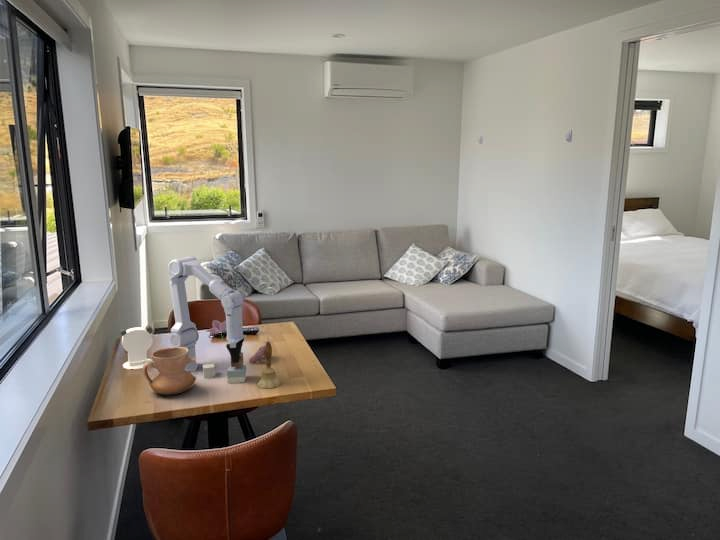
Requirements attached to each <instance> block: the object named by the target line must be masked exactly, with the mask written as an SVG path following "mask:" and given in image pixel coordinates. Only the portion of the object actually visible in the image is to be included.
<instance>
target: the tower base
mask: <svg viewBox="0 0 720 540" xmlns="http://www.w3.org/2000/svg"><path fill="white" fill-rule="evenodd" d="M226 377H227V378H226V379H227V384H240V382H244V381H245V382H246V378H247V372H246V373H245V377H232V378H228V376H226ZM245 382H244V383H245Z"/></svg>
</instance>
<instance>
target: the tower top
mask: <svg viewBox="0 0 720 540" xmlns="http://www.w3.org/2000/svg"><path fill="white" fill-rule="evenodd" d="M226 372H227V373H226V374H227V376H226V377H228V378H232V377H245V373H246V374H247V365H246V364H243V366H242V367H231V364H230V365H229V366H228V368H227V371H226Z"/></svg>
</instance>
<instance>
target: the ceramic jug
mask: <svg viewBox="0 0 720 540" xmlns="http://www.w3.org/2000/svg"><path fill="white" fill-rule="evenodd" d="M188 354H189V351H188V349H187V348H184V347H173V346H171V347H166V348H162V349H158V350H155V351H153V352H152V353H151V358H152V359H151V360H153V362H147V363H146V364H145V365H144V366H143V368H142V373H143V376H144V378H145V379H146V380H147V382H148V384H149V387H151V388H150V389H152V390H153V392H155V393H157V394H161V395H167V396H171V395H172V396H173V395H177V394H181V393H184V392H187V391H188V390H189V389H190V388H192V387H193V385H194V384H195V382H196V380H197V376H195V375H194V374H193V373H191V371H186V370H184V369H185V366H186V364H188V363H189V362H192V361H193V362H195V361H196V362H197V357H196V358H188ZM148 366H149V367H151V368H154V369H156V370H157V372H159V373H158V375H156V376H155V377H153V379H151V377H150V375H149V373H148V368H149V367H148Z"/></svg>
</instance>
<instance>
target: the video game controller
mask: <svg viewBox="0 0 720 540" xmlns="http://www.w3.org/2000/svg"><path fill="white" fill-rule="evenodd" d="M265 346H266V344H265V345H262V346H260V347H258V350H257V351H256V353H254V355H252V356H251V357H250V358H249V360H248V362H249V364H251V363H252V364H253V365H254V364H255V363H257V362H259V363H260V362H261V361H262V360H263V359H266V356H265Z"/></svg>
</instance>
